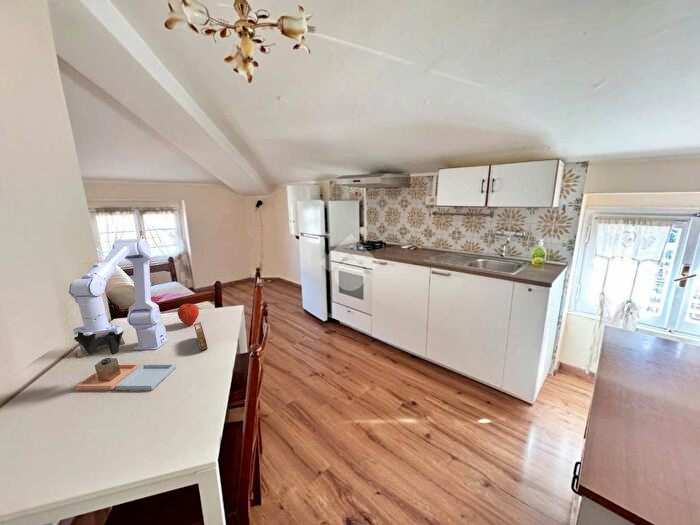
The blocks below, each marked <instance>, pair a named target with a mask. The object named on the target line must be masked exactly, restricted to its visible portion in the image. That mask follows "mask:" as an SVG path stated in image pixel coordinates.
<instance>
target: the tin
mask: <svg viewBox="0 0 700 525" xmlns="http://www.w3.org/2000/svg"><path fill="white" fill-rule="evenodd" d="M193 325H194V327H193V328H194V329H195V334H196V338H197V341H198V346H199V349H200V350H201V351H203V350H206V349H208V344H207V340H206V335H205V332H204V328H203V326H202V322H201V321H199V322H197V323H194V324H193Z"/></svg>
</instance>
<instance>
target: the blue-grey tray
mask: <svg viewBox="0 0 700 525" xmlns="http://www.w3.org/2000/svg"><path fill="white" fill-rule="evenodd" d="M176 369H177V365H176V363H143V364H141V365H140V367H139V368H138V369H136V370H135V371H134V372H132V373H131V374H130V375H129V376H127V377H126V378H125V379H123V380H122V381H121V382H120V383H118V384H117V385H116V386H115V387H116V388H115V390H116V391H117V390H129V391H130V392H133V391H135V392H136V391H137V392H139V391H140V392H143V391H144V392H145V391H146V392H153V391H154V390H155V389H156V388H157V387H158V386H159V385H160V384H162V382H164V380H166V379H167V377H169V376H170V375H171V374H172V373H173V372H174V371H175V370H176ZM129 391H128V392H129Z"/></svg>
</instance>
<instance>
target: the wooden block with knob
mask: <svg viewBox="0 0 700 525" xmlns="http://www.w3.org/2000/svg"><path fill="white" fill-rule="evenodd" d="M119 364H120V363H119V361H118V358H117V357H116V358H115V357H105V358H102V359H101V360H100V361H99V362H97V363H96V364H94V368H95V373H97V376H98V380H99V381H112V380H113V379H114V378H116V377H117V376H119V375H120V374H121V372H120V368H119Z"/></svg>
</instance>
